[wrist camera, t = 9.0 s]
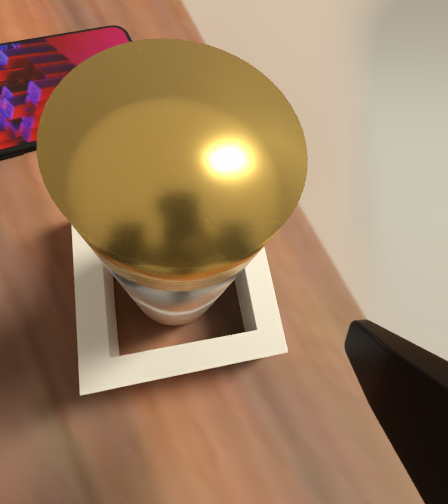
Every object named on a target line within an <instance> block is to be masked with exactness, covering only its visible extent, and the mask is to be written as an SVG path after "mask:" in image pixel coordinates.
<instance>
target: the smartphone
mask: <svg viewBox="0 0 448 504" xmlns="http://www.w3.org/2000/svg"><path fill="white" fill-rule="evenodd" d="M128 42H132V40H131V38H130V36H129V34H128V32H127V31H126V30H125V29H123V28H121V27H119V26H105V27H99V28H93V29H87V30H81V31H75V32H69V33H63V34H57V35H50V36H44V37H38V38H32V39H26V40H20V41H14V42H8V43H2V44H0V160H2V159H6V158H10V157H14V156H18V155H22V154H24V153H28V152H32V151H35V150H37V132H38V127H39V122H40V118H41V115H42V112H43V110H44V107H45V105H46V103H47V101H48V99H49V97H50V96H51V94H52V92H53V90H54V89H55V88H56V87H57V85H58V84H59V83H60V82H61V80H62V79H63V78H64V77H65V76H66V75H67V74H68V73H69V72H71V71H72V70H73V69H74V68H75V67H76V66H78V65H79V64H81V63H82V62H83V61H85V60H86V59H88V58H90V57H92V56H93V55H95V54H97V53H99V52H101V51H104V50H106V49H109V48H111V47H114V46H117V45H120V44H124V43H128Z"/></svg>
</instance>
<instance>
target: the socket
mask: <svg viewBox="0 0 448 504" xmlns="http://www.w3.org/2000/svg"><path fill="white" fill-rule="evenodd" d="M72 245H73V265H74V285H75V305H76V325H77V346H78V366H79V386H80V396H81V395H86V394H90V393H95V392H100V391H105V390H109V389H114V388H119V387H124V386H129V385H133V384H138V383H143V382H148V381H153V380H157V379H162V378H167V377H172V376H177V375H181V374H186V373H191V372H196V371H201V370H205V369H210V368H215V367H220V366H224V365H229V364H234V363H239V362H244V361H248V360H253V359H258V358H263V357H268V356H272V355H277V354H282V353H287V352H288V349H287V345H286V341H285V336H284V332H283V327H282V323H281V319H280V314H279V310H278V305H277V301H276V297H275V292H274V288H273V283H272V279H271V275H270V270H269V266H268V261H267V257H266V253H265V248H264V247H263V248H262V249H261V250H260V252H259V253H258V254H257V255H256V256H255V257H254V258H253V259H252V260H251V262H250V263H249V264H248V265H247V266H246V267H245V268H244V269H243V271H242V272H241V273H240V274H239V275H238V276H237V277H236V278H235V284H236V289H237V294H238V299H239V304H240V309H241V315H242V320H243V325H244V330H245V332H244V333H239V334H233V335H228V336H223V337H217V338H212V339H207V340H201V341H196V342H191V343H186V344H180V345H175V346H170V347H164V348H159V349H154V350H148V351H143V352H138V353H132V354H127V355H122V356H119V344H118V332H117V320H116V308H115V296H114V285H113V275H112V273H111V272H110V271H109V270H108V269H107V267H106V266H105V265H104V264H103V262H102V261H101V260H100V259H99V258H98V256H97V255H96V254H95V253H94V251H93V250H92V249H91V248H90V247H89V245H88V244H87V243H86V242H85V240H84V239H83V238H82V237H81V236H80V234H79V233H78V232H77V231H76V229H75V228H74V227H73V226H72Z"/></svg>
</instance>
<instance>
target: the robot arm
mask: <svg viewBox="0 0 448 504" xmlns="http://www.w3.org/2000/svg"><path fill="white" fill-rule="evenodd" d="M345 351H346V354H347V356H348V358H349V361H350V363H351V365H352V367H353V370H354V372H355V374H356V376H357V379H358V381H359V383H360V385H361V388H362V390H363V392H364V394H365V396H366V399H367V401H368V403H369V405H370V407H371V409H372V410H373V412H374V414H375V416H376V418H377V419H378V421H379V423H380V425H381V427H382V428H383V430H384V432H385V434H386V435H387V437H388V439H389V441H390V443H391V444H392V446H393V448H394V450H395V451H396V453H397V455H398V457H399V458H400V460H401V462H402V464H403V466H404V467H405V469H406V471H407V473H408V474H409V476H410V478H411V480H412V482H413V483H414V485H415V487H416V489H417V490H418V492H419V494H420V496H421V497H422V499H423V501H424V503H425V504H448V361H446V360H444V359H442V358H440V357H438V356H437V355H435V354H433V353H431V352H429V351H427V350H425V349H423V348H421V347H419V346H417V345H415V344H413V343H412V342H410V341H408V340H406V339H404V338H402V337H400V336H398V335H396V334H394V333H392V332H390V331H388V330H387V329H385V328H383V327H381V326H379V325H377V324H375V323H373V322H371V321H369V320H355V321H352V322H351V324H350V326H349V330H348V333H347V337H346V340H345Z"/></svg>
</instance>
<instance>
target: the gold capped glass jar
mask: <svg viewBox="0 0 448 504" xmlns="http://www.w3.org/2000/svg"><path fill="white" fill-rule="evenodd" d="M37 156H38V164H39V168H40V172H41V175H42V178H43V181H44V184H45V186H46V188H47V190H48V192H49V194H50V196H51V198H52V199H53V201H54V202H55V204H56V205H57V207H58V208H59V209H60V211H61V212H62V214H63V215H64V216H65V217H66V218H67V220H68V221H69V222H70V223H71V225H72V226H73V227H74V228H75V229H76V231H77V232H78V233H79V234H80V236H81V237H82V238H83V239H84V240H85V242H86V243H87V244H88V245H89V247H90V248H91V249H92V250H93V251H94V253H95V254H96V255H97V256H98V258H99V259H100V260H101V261H102V262H103V264H104V265H105V266H106V267H107V269H108V270H109V271H110V272H111V273H112V275H113V276H114V277H115V278H116V279H117V281H118V282H119V283H120V284H121V286H122V287H123V288H124V289H125V290H126V292H127V293H128V294H129V295H130V297H131V298H132V299H133V300H134V301H135V303H136V304H137V305H138V306H139V308H140V309H141V310H142V311H143V312H144V313H145V314H146V315H147V316H148V317H149V318H151V319H152V320H154V321H156V322H158V323H161V324H164V325H171V326H178V325H184V324H188V323H190V322H192V321H194V320H196V319H198V318H199V317H200V316H202V315H203V314H204V313H205V312H206V311H207V310H208V309H209V307H210V306H211V305H212V304H213V303H214V302H215V301H216V300H217V299H218V297H219V296H220V295H221V294H222V293H223V292H224V291H225V290H226V288H227V287H228V286H229V285H230V284H231V283H232V282H233V281H234V280H235V278H236V277H237V276H238V275H239V274H240V273H241V272H242V271H243V269H244V268H245V267H246V266H247V265H248V264H249V263H250V262H251V260H252V259H253V258H254V257H255V256H256V255H257V254H258V253H259V252H260V250H261V249H262V248H263V247H264V246H265V245H266V244H267V243H268V241H269V240H270V239H271V238H272V237H273V236H274V235H275V234H276V232H277V231H278V230H279V229H280V228H281V227H282V226H283V225H284V223H285V222H286V221H287V219H288V218H289V217H290V215H291V214H292V213H293V211H294V209H295V207H296V205H297V203H298V201H299V199H300V197H301V194H302V191H303V188H304V185H305V180H306V174H307V159H308V157H307V149H306V142H305V138H304V134H303V130H302V127H301V125H300V122H299V120H298V117H297V115H296V114H295V112H294V110H293V108H292V106H291V105H290V103H289V102H288V100H287V99H286V98H285V96H284V95H283V93H282V92H281V91H280V90H279V89H278V88H277V87H276V86H275V85H274V84H273V82H272V81H270V80H269V79H268V78H267V77H266V76H265V75H264V74H262V73H261V72H260V71H259V70H257V69H256V68H254V67H253V66H252V65H250V64H249V63H247V62H245V61H244V60H242V59H240V58H238V57H237V56H234V55H232V54H230V53H228V52H226V51H223V50H221V49H218V48H215V47H212V46H209V45H206V44H201V43H197V42H193V41H186V40H179V39H145V40H139V41H133V42H128V43H124V44H120V45H117V46H114V47H111V48H109V49H106V50H104V51H101V52H99V53H97V54H95V55H93V56H92V57H90V58H88V59H86V60H85V61H83V62H82V63H81V64H79V65H78V66H76V67H75V68H74V69H73V70H72V71H71V72H69V73H68V74H67V75H66V76H65V77H64V78H63V79H62V80H61V82H60V83H59V84H58V85H57V87H56V88H55V89H54V90H53V92H52V94H51V96H50V97H49V99H48V101H47V103H46V105H45V107H44V110H43V112H42V115H41V118H40V122H39V127H38V132H37Z"/></svg>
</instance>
